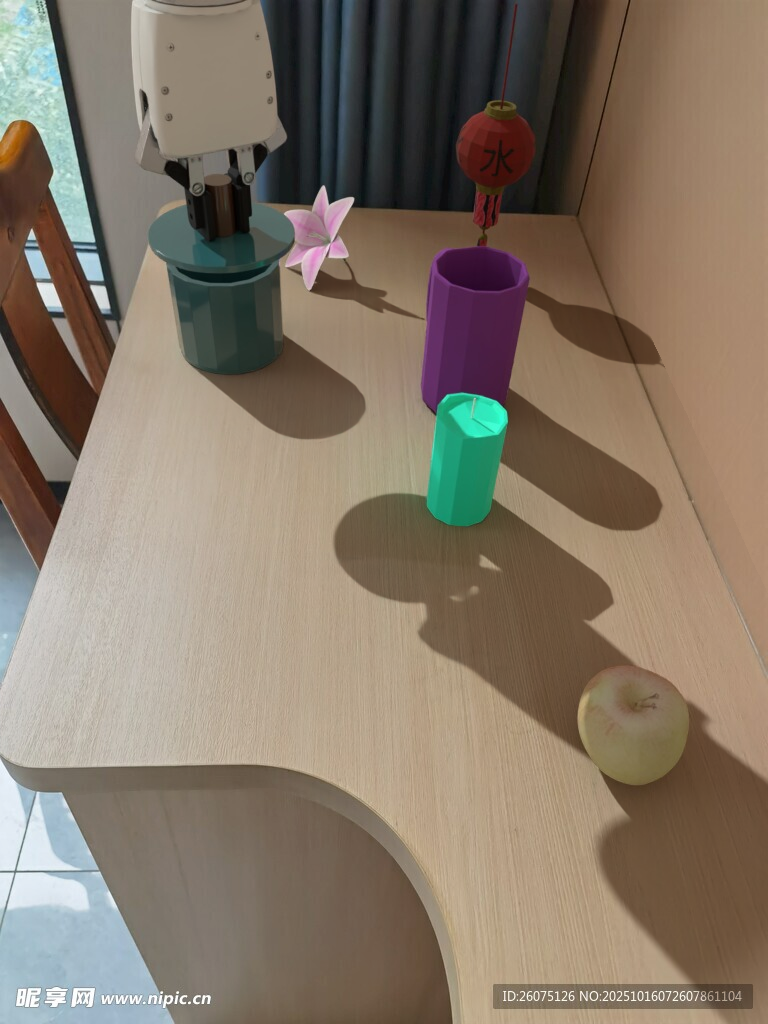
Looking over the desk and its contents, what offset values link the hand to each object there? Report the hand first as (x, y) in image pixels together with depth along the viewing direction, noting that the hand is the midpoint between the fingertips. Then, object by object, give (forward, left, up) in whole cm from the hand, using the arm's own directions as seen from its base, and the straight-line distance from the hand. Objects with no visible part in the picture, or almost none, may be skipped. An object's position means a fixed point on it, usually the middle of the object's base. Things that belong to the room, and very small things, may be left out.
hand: (221, 228), depth 68 cm
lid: (0, 0, -1) cm, 1 cm away
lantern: (+30, +29, -19) cm, 46 cm away
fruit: (+29, -40, -19) cm, 53 cm away
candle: (+21, -15, -19) cm, 32 cm away
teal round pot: (-1, +11, -19) cm, 22 cm away
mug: (+23, +4, -19) cm, 30 cm away
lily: (+9, +28, -19) cm, 36 cm away
